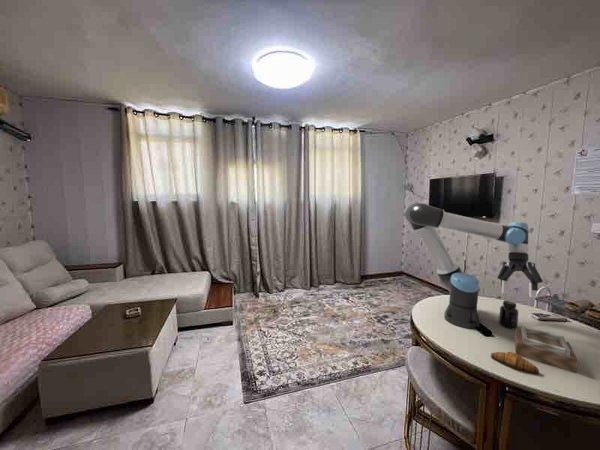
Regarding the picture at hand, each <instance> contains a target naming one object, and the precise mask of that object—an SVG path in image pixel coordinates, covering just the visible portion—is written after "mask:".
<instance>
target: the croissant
mask: <svg viewBox="0 0 600 450" xmlns="http://www.w3.org/2000/svg"><path fill="white" fill-rule="evenodd" d="M490 357H491V359H493V360H494V361H496V362H499V363H501V364H504V365H506V366H507V367H510V368H511V369H512V368H513V369H515V370H520V371H523V372H525V373H526V372H527V373H531V374H539V372H540V370H539V368H538V367H537V366H535V365H534V364H533V363H532V362H530V361H529V360H528V359H525V357H523V356H520V355H518V354H516V352H513V351H507V352H504V351H503V352H501V351H497V352H496V351H495V352H491V354H490Z"/></svg>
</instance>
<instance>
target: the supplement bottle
mask: <svg viewBox="0 0 600 450" xmlns="http://www.w3.org/2000/svg"><path fill="white" fill-rule="evenodd" d="M498 319H499V320H498V323H499V325H500V326H501V327H503V328H506V329H509V330H515V328H516V329H518V323H519V309H517V303H516V302H515V301H511V300H503V302H502V305H500V307H499V317H498Z"/></svg>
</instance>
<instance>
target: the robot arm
mask: <svg viewBox="0 0 600 450" xmlns="http://www.w3.org/2000/svg"><path fill="white" fill-rule="evenodd" d="M404 213H405V214H404V215H405V219H406V221H408V222H409V224H410V225H411V228H412V229H413V231H415V232H418V234H419V236H420V238H421V240H422V242H423V244H424V246H425V248H426V249H427V251H428V253H429V255H430V257H431V259H432V260H433V262H434V264H435V266H436V268H437V269H436V274H437V276H438V279H439V282H440V283H441V285H442V286H443V287H444V288H445V289H446V290H447V291H448V292H449V299H448V300H449V303H448V305H447V307H446V309H445V311H444V313H443V314H444V316H443V317H444V318H443V319H445V320H446V321H447V322H448V323H450V324H452V325H454V326H457V327H461V328H466V329H476V328H475V327H476V326H477V325H479V324H480V325H481V319H480V314H479V312H478V299H479V290H480V281H479V279H478V278H477V277H476V276H474V275H472V274H469V273H465V272H463V271H462V268H461V267H460V265H459V264H458V263H456V262H454V260H453V259H452V256H450V253H449V251H448V250H447V248H446V246H445V244H444V242H443V240H442V238H441V237H440V234H439V233H438V231H437V229H438V228H441V227H442V228H445V229H449V230H454V231H457V232H461V233H465V234H470V235H474V236H479V237H482V238H484V239H490V240H493V241H494V240H495V241H498V242H504V243H507V244H508V260H509V261H503V263H502V267H501V269H500V271H499V273H498V275H497V277H496V278H497V279H498V280H500V283H501V284H500V285H501V294H505V295H508V294H509V281H508V280H509V279H510V277H511V276H512V275H513V274H514V273H515V272H522V273H523V274H524V275H525V276H526V277H527V279H528V280H529V281H530V282H529V283H528V285H529V287H528V288H529V294H528V295H529V298H535V299H537V291H538V290H539V289H538V288H539V286H538V285H539V284H540V283H543V279H542V277H541V275H540V273H539V272H538V270H537V268H536V263H535V262H533V261H532V262H531V261H529V233H530V232H529V224H528V223H526V222H521V221H518V222H517V221H516V222H515V221H513V222H509V224H508V225H502V224H498V223H495V222H491V221H485V220H481V219H477V218H473V217H468V216H463V215H460V214H456V213H451V212H446V211H445V209H443V208H439V207H435V206H432V205H429V204H427V203H421V202H415V203H412V204H410V205H409V206H408V207H407V208H406V209H405V212H404Z"/></svg>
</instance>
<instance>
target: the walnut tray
mask: <svg viewBox="0 0 600 450" xmlns="http://www.w3.org/2000/svg"><path fill="white" fill-rule="evenodd" d="M514 330H515V331H514V338H513V339H514V349H515V352H514V353H516V354H518V355H520V356H521V357H522V358H527V359H530V360H533V361H536V362H539V363H543V364H547V365H549V366H552V367H556V368H557V369H558V368H560V369H562V370H566V371H568V372H572V373H575V374H576V373H577V367H578V360H579V359H578V357H577V356H576V353H575V352H574V350H573V347H572V346H571V343H570V342H569V341H566V339H565V337H564V336H562V335H558V334H554V333H550V332H547V331H542V330H538V329H534V328H531V327H527V326H523V325H522V326H521V328H515V329H514Z"/></svg>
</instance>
